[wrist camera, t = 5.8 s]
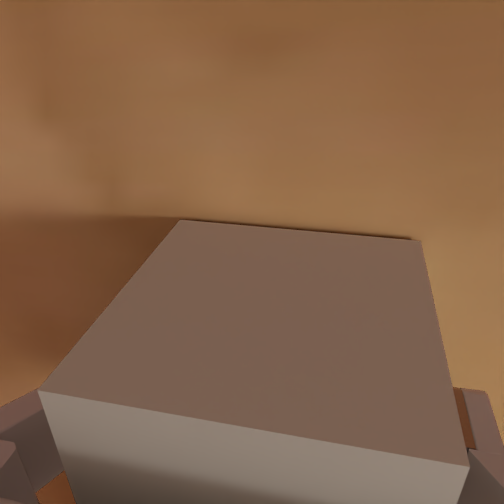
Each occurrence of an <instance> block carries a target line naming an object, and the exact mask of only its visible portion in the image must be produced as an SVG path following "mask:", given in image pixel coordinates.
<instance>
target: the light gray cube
mask: <svg viewBox="0 0 504 504" xmlns="http://www.w3.org/2000/svg"><path fill="white" fill-rule="evenodd" d="M37 391H38V394H39V397H40V400H41V403H42V406H43V409H44V411H45V414H46V417H47V420H48V423H49V426H50V429H51V432H52V435H53V438H54V441H55V444H56V446H57V449H58V452H59V455H60V458H61V461H62V464H63V467H64V470H65V473H66V476H67V479H68V481H69V484H70V487H71V490H72V493H73V496H74V499H75V502H76V504H457V502H458V499H459V496H460V494H461V491H462V488H463V485H464V483H465V480H466V477H467V474H468V471H469V469H470V465H469V460H468V456H467V451H466V447H465V442H464V437H463V433H462V428H461V424H460V419H459V414H458V410H457V405H456V401H455V396H454V392H453V387H452V382H451V378H450V373H449V369H448V364H447V359H446V355H445V350H444V346H443V341H442V336H441V332H440V327H439V323H438V318H437V314H436V309H435V304H434V300H433V295H432V291H431V286H430V281H429V277H428V272H427V268H426V263H425V259H424V254H423V249H422V245H421V241H417V240H405V239H394V238H383V237H371V236H360V235H348V234H337V233H326V232H314V231H303V230H292V229H280V228H269V227H258V226H246V225H235V224H224V223H212V222H201V221H189V220H179V221H178V223H177V224H176V225H175V226H174V227H173V229H172V230H171V231H170V232H169V233H168V235H167V236H166V237H165V238H164V239H163V241H162V242H161V243H160V244H159V245H158V247H157V248H156V249H155V250H154V251H153V252H152V254H151V255H150V256H149V257H148V258H147V260H146V261H145V262H144V263H143V264H142V266H141V267H140V268H139V269H138V270H137V272H136V273H135V274H134V275H133V276H132V278H131V279H130V280H129V281H128V282H127V284H126V285H125V286H124V287H123V288H122V290H121V291H120V292H119V293H118V294H117V295H116V297H115V298H114V299H113V300H112V301H111V303H110V304H109V305H108V306H107V307H106V309H105V310H104V311H103V312H102V313H101V315H100V316H99V317H98V318H97V319H96V321H95V322H94V323H93V324H92V325H91V327H90V328H89V329H88V330H87V331H86V333H85V334H84V335H83V336H82V337H81V338H80V340H79V341H78V342H77V343H76V344H75V346H74V347H73V348H72V349H71V350H70V352H69V353H68V354H67V355H66V356H65V358H64V359H63V360H62V361H61V362H60V364H59V365H58V366H57V367H56V368H55V370H54V371H53V372H52V373H51V374H50V376H49V377H48V378H47V379H46V380H45V381H44V383H43V384H42V385H41V386H40V387H39V389H38V390H37Z"/></svg>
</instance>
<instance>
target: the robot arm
mask: <svg viewBox="0 0 504 504" xmlns="http://www.w3.org/2000/svg"><path fill="white" fill-rule="evenodd" d="M38 389H39V388H37V389H35V390H34V391H32V392H30V393H28V394H26V395H24V396H22V397H20V398H18V399H16V400H14V401H12V402H10V403H8V404H6V405H4V406H2V407H0V504H40V503H39V500H38V498H37V496H36V492H37V491H38V490H40V489H41V488H42V487H43V486H45V485H46V484H47V483H49V482H50V481H51V480H52V479H54V478H55V477H56V476H58V475H59V474H60V473H61V472H63V471H64V467H63V464H62V461H61V458H60V455H59V452H58V449H57V446H56V444H55V441H54V438H53V435H52V432H51V429H50V426H49V423H48V420H47V417H46V414H45V411H44V409H43V406H42V403H41V400H40V397H39V394H38V391H37V390H38ZM453 392H454V396H455V401H456V405H457V410H458V414H459V419H460V424H461V428H462V433H463V437H464V442H465V447H466V451H467V456H468V460H469V465H470V469H469V471H468V474H467V477H466V480H465V483H464V485H463V488H462V491H461V494H460V496H459V499H458V502H457V504H504V446H503V442H502V439H501V436H500V433H499V429H498V426H497V423H496V420H495V417H494V413H493V410H492V407H491V404H490V400H489V397H488V395H487V393H486V392H485V391H480V390H473V389H465V388H457V387H453Z"/></svg>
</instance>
